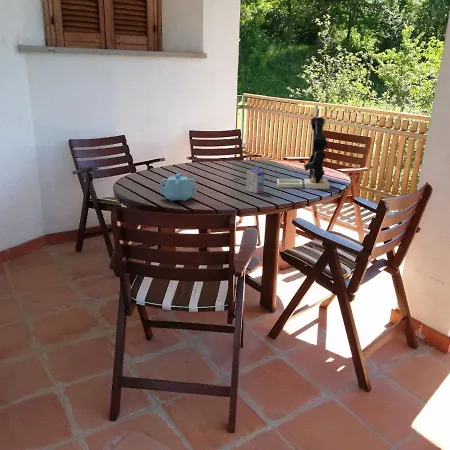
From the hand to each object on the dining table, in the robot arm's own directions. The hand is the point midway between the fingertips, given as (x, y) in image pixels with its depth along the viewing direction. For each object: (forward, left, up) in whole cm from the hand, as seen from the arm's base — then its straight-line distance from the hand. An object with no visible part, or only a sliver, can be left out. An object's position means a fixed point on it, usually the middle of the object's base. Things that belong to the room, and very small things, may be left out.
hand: (316, 183), depth 276 cm
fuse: (0, 0, -2) cm, 2 cm away
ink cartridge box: (+19, -38, -2) cm, 42 cm away
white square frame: (0, 0, -2) cm, 2 cm away
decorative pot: (+41, -79, -2) cm, 89 cm away
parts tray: (0, -17, -2) cm, 17 cm away
